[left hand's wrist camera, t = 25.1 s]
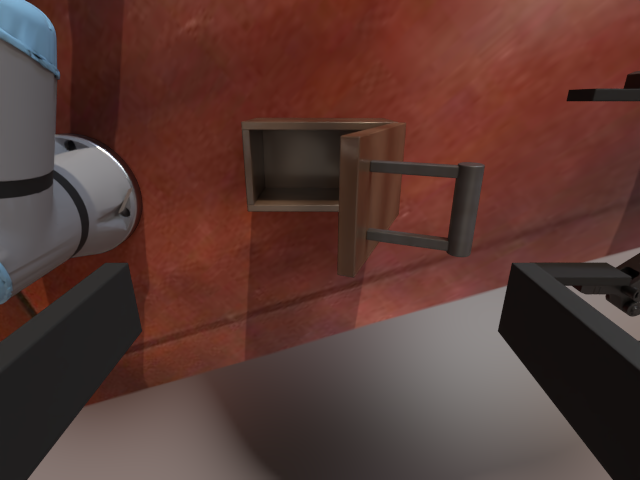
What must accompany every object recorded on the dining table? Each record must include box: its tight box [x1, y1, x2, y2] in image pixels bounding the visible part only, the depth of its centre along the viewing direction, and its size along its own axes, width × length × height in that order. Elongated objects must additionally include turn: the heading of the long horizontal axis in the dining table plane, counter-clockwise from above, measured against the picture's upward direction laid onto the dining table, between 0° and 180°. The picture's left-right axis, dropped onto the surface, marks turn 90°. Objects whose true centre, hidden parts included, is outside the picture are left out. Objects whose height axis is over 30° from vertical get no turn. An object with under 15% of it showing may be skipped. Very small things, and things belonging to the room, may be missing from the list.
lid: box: [337, 123, 485, 277], centre depth 28 cm, size 16×9×8 cm
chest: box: [241, 118, 398, 212], centre depth 41 cm, size 15×9×9 cm, turn 90°
